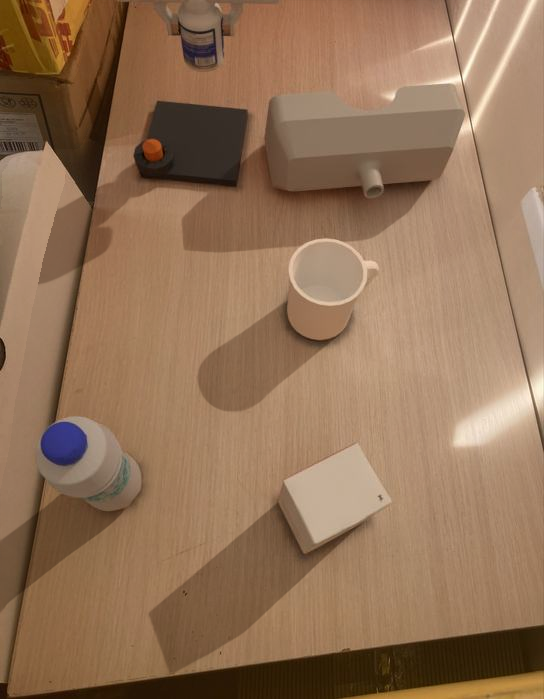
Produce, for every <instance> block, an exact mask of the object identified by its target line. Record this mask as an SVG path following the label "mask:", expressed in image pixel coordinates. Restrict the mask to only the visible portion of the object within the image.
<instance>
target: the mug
mask: <svg viewBox="0 0 544 699" xmlns="http://www.w3.org/2000/svg"><path fill="white" fill-rule="evenodd" d="M379 271H380V266H379V264H378V263H377V262H376V261H375V260H364V259H363V257H362V255H361V254H360V253H359V251H358V250H356V249H355V248H354V247H353V246H352V245H349V244H348V243H347V242H344V241H341V240H338V239H335V238H328V237H327V238H326V237H325V238H315V239H313V240H309V241H307V242H305V243H303V244H302V245H301V246H299V247H298V248H297V249H296V250H295V251H294V253H293V254H292V256H291V258H290V260H289V263H288V293H287V294H288V296H287V307H286V315H287V321H288V323H289V325H290V326H291V328H292V329H293V331H294V332H296V333H297V335H299V336H301V337H302V338H305V339H307V340H309V341H316V342H325V341H329V340H332V339H335V338H336V337H338V336H339V335H340V334H342V332H343V331H344V330H345V329H346V328H347V325H348V323H349V320H350V318H351V315H352V313H353V311H354V308H355V306H356V303H357V301H358V299H359V298H360V296H361V294H362V292H363V291H364V290H365V289H366V288H367V287H368V286H369V284H370V283H371V282H372V281H373V280H374V278H376V276H377V275H378V274H379Z"/></svg>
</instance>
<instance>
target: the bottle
mask: <svg viewBox="0 0 544 699" xmlns="http://www.w3.org/2000/svg"><path fill="white" fill-rule="evenodd" d="M34 454H35V455H34V456H35V457H34V458H35V464H36V467H37V470H38V471H39V473H40V475H41V476H42V477H43V478H44V480H46V482H47V483H48V484H49V486H50V487H51V488H52V489H53V490H54V491H56V492H58V493H60V494H62V495H65V496H68V497H71V498H78V499H79V498H80V499H82V500H84V501H85V502H86V503H87V504H89V505H90V506H92V507H93V508H95V509H97V510H100V511H103V512H115V511H119V510H123V509H125V508H128V507H129V506H130V505H131V504H132V502H133V501H134V500H135V498H136V497H137V495H138V494H139V493H140V492H141V489H142V472H141V468H140V466H139V464H138V463H137V461H136V460H135V459H134V458H133V457H131V456H132V455H129V454H128V453H126V452H125V451H124V450H123V449H122V448H121V445H120V443H119V441H118V439H117V438H116V436H115V434H114V433H113V431H112V430H110V428H108V427H107V426H105V425H104V424H102V423H99V422H96V421H95V420H93V419H91V418H88V417H85V416H80V415H75V416H74V415H73V416H71V415H70V416H67V417H63V418H61V419H58V420H56V421H55V422H53V423H51V424H50V425H49V426H48V427H47V428H45V430H44V431H43V433H42V434H41V435H40V437H39V439H38V441H37V443H36V447H35V452H34Z"/></svg>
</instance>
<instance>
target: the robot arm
mask: <svg viewBox="0 0 544 699" xmlns="http://www.w3.org/2000/svg"><path fill="white" fill-rule="evenodd" d="M114 1H115V2H117V3H152V4H153V9H154V11H155V13H156V14H158V16H159V17H160V19H161V20H162V22H164V23H165V25H166V32H167V36H174V37H177V36H180V37H181V35H180V28H179V21H178V13H173V12H172V11H171V9H170V8H169V6H168V5H167V4H168V3H178V4H179V3H181V4H182V3H187V2H188V0H114ZM281 1H282V0H206V2H207V3H217V4H230V11H229V13H228V14H227V13H225V14H223V13H222V29H223V37H235V34H236V31H235V30H236V29H235V28H236V26H235V25H236V24H237V22H238V21H239V19H240V18H241V16H242V14H243V12H244V4H247V5H249V4H251V5H278V4H280V3H281Z"/></svg>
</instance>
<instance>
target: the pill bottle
mask: <svg viewBox="0 0 544 699" xmlns="http://www.w3.org/2000/svg"><path fill="white" fill-rule="evenodd" d="M177 14H178V21H179V28H180V41H181V50H182V56H183V61H184V63H185V65H186V66H187V67H188V68H189V69H190V70H192V71H195V72H198V73H209V72H212V71H215V70H217V69H219V68H220V67H221V66H222V65H223V63H224V61H225V41H224V39H225V38H224V36H223V29H222V14H223V11H222V9H221V6H220V5H219V3H207V2H206V0H188V2H187V3H181V4H180V5H179V8H178V9H177Z"/></svg>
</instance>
